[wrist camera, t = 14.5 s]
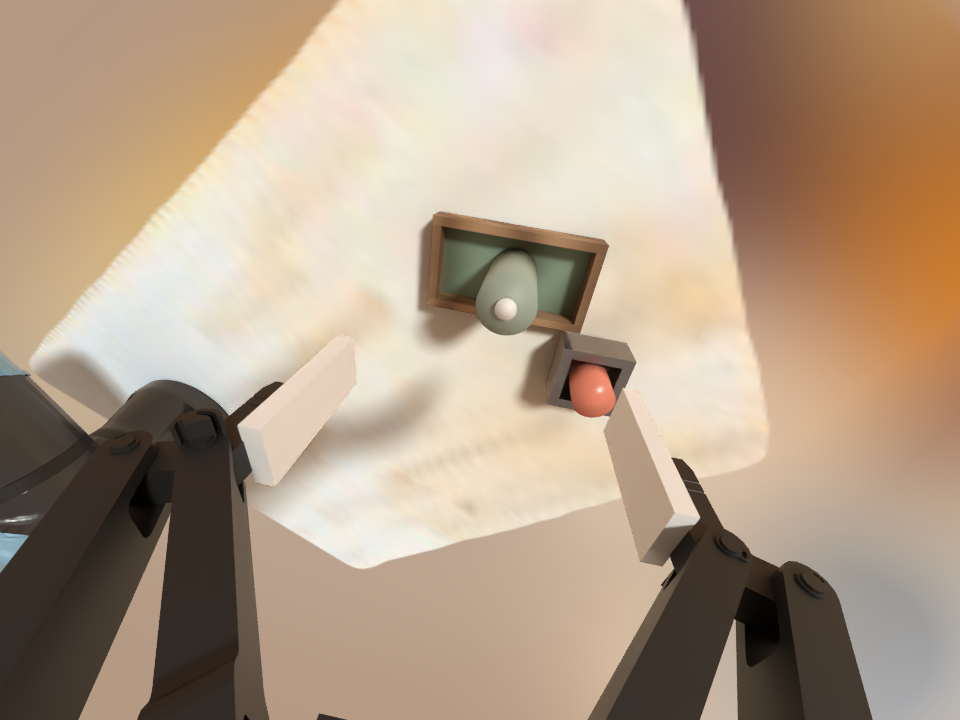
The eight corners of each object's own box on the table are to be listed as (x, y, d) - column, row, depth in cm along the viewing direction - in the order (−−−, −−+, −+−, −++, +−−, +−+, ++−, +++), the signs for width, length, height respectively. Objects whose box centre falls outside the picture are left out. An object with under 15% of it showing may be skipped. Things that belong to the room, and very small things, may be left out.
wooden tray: (433, 296, 36) (427, 305, 34) (440, 211, 32) (433, 214, 30) (577, 323, 36) (579, 333, 34) (603, 240, 31) (608, 245, 29)
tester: (546, 383, 40) (547, 404, 37) (561, 331, 36) (564, 348, 33) (605, 395, 40) (611, 416, 36) (626, 343, 36) (636, 362, 33)
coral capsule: (562, 379, 38) (566, 412, 33) (572, 349, 36) (578, 380, 31) (597, 386, 38) (607, 420, 33) (609, 356, 36) (621, 388, 31)
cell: (487, 289, 35) (470, 332, 26) (494, 243, 32) (478, 273, 23) (531, 297, 35) (529, 343, 25) (541, 252, 32) (544, 285, 23)
